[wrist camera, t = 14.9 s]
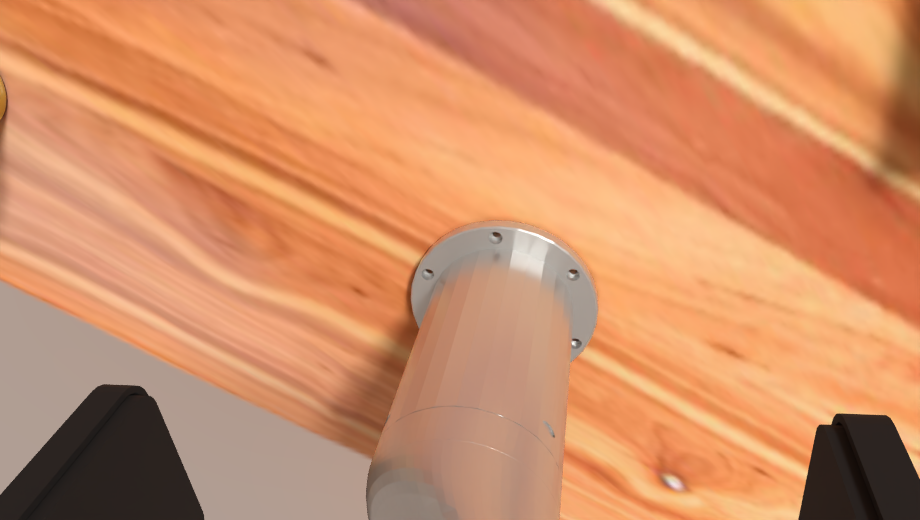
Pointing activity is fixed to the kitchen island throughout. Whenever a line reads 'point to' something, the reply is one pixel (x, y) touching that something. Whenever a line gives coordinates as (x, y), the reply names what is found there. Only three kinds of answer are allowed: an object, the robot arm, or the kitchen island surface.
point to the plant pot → (2, 98)
